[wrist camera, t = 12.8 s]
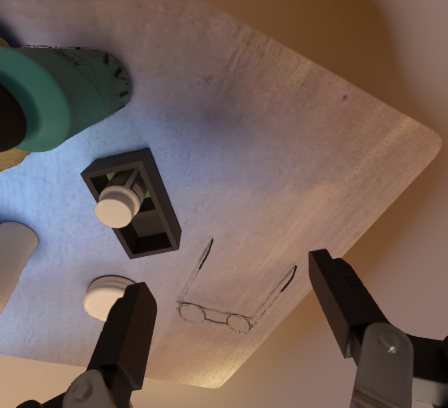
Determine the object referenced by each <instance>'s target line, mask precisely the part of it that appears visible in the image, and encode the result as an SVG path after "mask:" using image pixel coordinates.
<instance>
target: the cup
mask: <svg viewBox="0 0 448 408" xmlns="http://www.w3.org/2000/svg"><path fill="white" fill-rule="evenodd" d="M37 245H38V237H37V235H36V234H35V233H34V232H33V231H32V230H31V229H30V228H28V227H27V226H25V225H22V224H20V223H16V222H5V223H2V224H0V313H1V312H2V311H3V309H4V307H5V305H6V303H7V302H8V300H9V298H10V296H11V294H12V292H13V290H14V289H15V286H16V284H17V282H18V279H19V277H20V275H21V272H22V270H23V268H24V266H25V264H26V262H27V260H28V258H29V257H30V255H31V254H32V253H33V251H34V250H35V248H36V247H37Z"/></svg>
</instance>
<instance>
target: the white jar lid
mask: <svg viewBox="0 0 448 408" xmlns="http://www.w3.org/2000/svg"><path fill="white" fill-rule="evenodd" d="M130 284H135V283H133V282H132V281H130V280H128V279H125V278H122V277H115V276H109V277H103V278H99V279H97V280H95V281H94V282H93V283H92V284H91V285H90V287H89V289H88V291H87V293H86V295H85V297H84V299H83V306H84V309H85V310H86V311H87V312H88V313H89V314H90V315H91V316H93V317H94V318H96V319H99V320H102V321H106V319H107V316H108V313H109V311H110V308H111V307H112V306H113V304H114V303H115V302H116V300H117V299H118V298H121V297H123V295H124V292H125V289H126V287H127V286H128V285H130Z"/></svg>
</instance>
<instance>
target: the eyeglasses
mask: <svg viewBox="0 0 448 408" xmlns="http://www.w3.org/2000/svg"><path fill="white" fill-rule="evenodd" d="M212 243H213V239H212V242H211V245H210V247H209V250H208V252H207V254H206V256H205V258H204V260H203V262H202V263H201V265H200V267H199V270H200V269H201V267H202V265H203V263H204V262H205V260H206V258H207V256H208V254H209V252H210V249H211V246H212ZM296 268H297V266H295V269H294V272H293V275H292V277H291V279H290V280H289V281H288V283H287V284H286V285H285V286H284V287H283V289H282V290H281V292H283V291H284V289H285V288H286V287H287V286H288V285H289V283H290V282H291V281H292V279H293V277H294V274H295V271H296ZM199 270H198V271H199ZM197 273H198V272H197ZM197 273H196V275H197ZM196 275H195V277H196ZM195 277H194V279H195ZM194 279H193V280H194ZM192 282H193V281H192ZM191 284H192V283H191ZM191 284H190V286H191ZM190 286H189V288H190ZM189 288H188V289H189ZM187 291H188V290H187ZM281 292H280V293H281ZM186 293H187V292H186ZM186 293H185V295H186ZM280 293H279V294H280ZM185 295H184V297H185ZM278 296H279V295H278ZM278 296H277V297H278ZM184 297H183V298H184ZM277 297H276V298H277ZM276 298H275V299H276ZM275 299H274V300H275ZM182 300H183V299H182ZM181 302H182V301H181ZM181 302H180V304H181ZM273 302H274V301H273ZM273 302H272V303H273ZM272 303H271V304H272ZM180 304H179V306H180ZM271 304H270V305H271ZM185 305H190V306H195V307H197V308H199V309H200V310H202V312H203V313H204V316H205V317H204V320H203V321H207V322H210V323H214V324H219V325H226V326H227V325H228V327H229V328H230V329H231V330H232V331H235V332H237V333H242V334H245V333H248V332H249V331H250V329H251V327H252V328H254V325H255V324H254V325H250V323H249V321H248V320H247V319H246V318H244V317H242V316H240V315H230V316H238V317H241V318H243V319H245V320H246V321H247V322H248V324H249V331H248V332H240V331H236V330H234V329H233V328H231V327H230V326H229V323H228V318H229V317H230V316H228V318H227V321H226V322H227V323H224V322H217V321H213V320H210V319H207V318H206V314H205V312H204V310H203V309H202V308H200V307H199V306H197V305H194V304H183V305H182V306H185ZM270 305H269V307H270ZM179 306H178V307H179ZM182 306H181V307H182ZM178 307H177V308H176V311H179V315H180V317H181V318H182V319H184V320H185V321H187V322H190V323H202V322H203V321H201V322H194V321H189V320H187V319H185V318H184V317H182V315H181V313H180V308H181V307H180V308H179V309H178ZM269 307H268V308H269ZM268 308H267V309H268ZM267 309H266V310H267ZM266 310H265V311H266ZM265 311H264V313H265ZM264 313H263V314H264ZM263 314H262V315H263ZM262 315H261V316H262ZM261 316H260V317H261ZM259 319H260V318H259ZM259 319H258V320H259ZM258 320H257V321H258ZM257 321H256V322H257ZM256 322H255V323H256Z"/></svg>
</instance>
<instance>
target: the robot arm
mask: <svg viewBox="0 0 448 408" xmlns="http://www.w3.org/2000/svg"><path fill="white" fill-rule="evenodd" d="M308 256H309V277H310V281H311V284H312V287H313V289H314V291H315V293H316V296H317V298H318V300H319V302H320V305H321V307H322V309H323V311H324V313H325V316H326V318H327V320H328V323H329V325H330V327H331V329H332V331H333V334H334V336H335V338H336V341H337V343H338V345H339V347H340V349H341V352H342V354H343V356H344V358H351V357H353V359H354V361H355V363H356V365H357V373H356V378H355V383H354V388H353V393H352V399H351V403H350V408H411V405H412V399H413V400H417V401H421V402H426V403H430V404H432V405H433V407H434V408H448V336H447V337H446V338H445V339H444V340H443V341H441V340H434V339H428V338H422V337H416V336H412V335H409V334H406V333H404V332H402V331H401V330H400V329H398V328H397V327H395V326H393V325H392V324H391V323H390V322H389V321H388V320H387V319H386V318H385V316H384V314H383V313H382V311H381V310H380V309H379V307H378V305H377V304H376V302H375V301H374V300H373V298H372V296H371V295H370V293H369V292H368V290H367V289H366V288H365V286H363V283H362V282H361V280H360V279H359V278H358V276H357V274H356V273H355V271H354V270H353V269H352V267H351V265H349V264H348V263H346V262H345V261H344V260H343V259H341V258H336V259H332V257H331V256H330V254H329V252H328V251H327V250H326V249H320V250H314V251H309V253H308ZM156 315H157V304H156V300H155V299H154V297H153V295H152V293H151V292H150V290H149V288H148V287H147V285H146V283H145V282H140V283H135V284H130V285H128V286H127V287H126V289H125V292H124V295H123V297H121V298H118V299H117V300H116V302H115V303H114V304H113V306H112V307H111V308H110V311H109V313H108V316H107V319H106V322H105V324H104V326H103V331H101V334H100V337H99V339H98V342H97V344H96V347H95V350H94V352H93V355H92V357H91V360H90V363H89V365H88V367H87V370H86V371H85V372H84V373H82V374H81V375H79V376H78V377H77V378H76V379H75V380H74V381H73V382H72V383H71V385H70V386H69V388H68V390H67V391H66V392H65V393H62V394H60V395H58V396H56V397H55V398H53V399H51V400H49V401H47V402H45V403H43V404H41V403H39V402H37V401H35V400H28V401H25V402H23V403H22V404H20V405H18V406H17V407H16V408H133V406H132V404H131V402H130V397H131V393H132V391H134V390H140V389H142V385H143V379H144V375H145V370H146V365H147V360H148V355H149V350H150V345H151V340H152V335H153V330H154V325H155V320H156Z"/></svg>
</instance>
